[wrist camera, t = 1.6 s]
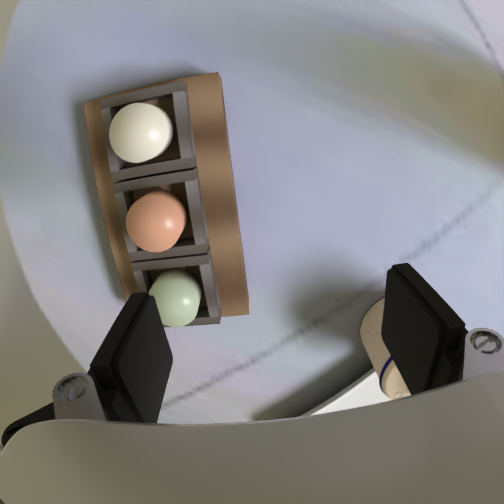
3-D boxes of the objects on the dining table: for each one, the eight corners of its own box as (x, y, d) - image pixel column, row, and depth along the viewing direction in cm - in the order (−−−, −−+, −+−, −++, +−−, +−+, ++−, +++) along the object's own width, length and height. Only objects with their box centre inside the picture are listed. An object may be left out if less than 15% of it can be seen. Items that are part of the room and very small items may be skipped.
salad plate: (391, 336, 36) (401, 353, 33) (444, 398, 42) (452, 412, 39) (266, 420, 42) (267, 438, 38) (344, 460, 48) (347, 475, 44)
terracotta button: (131, 194, 25) (120, 201, 22) (182, 185, 25) (175, 192, 22) (141, 244, 26) (133, 255, 24) (191, 238, 26) (185, 249, 24)
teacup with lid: (351, 354, 37) (378, 426, 26) (363, 291, 33) (405, 360, 23) (431, 345, 37) (470, 404, 26) (450, 286, 34) (503, 340, 23)
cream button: (117, 111, 22) (105, 110, 20) (169, 99, 22) (161, 96, 20) (125, 163, 24) (114, 167, 21) (176, 153, 24) (169, 157, 21)
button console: (97, 104, 26) (72, 102, 21) (220, 77, 25) (215, 67, 21) (141, 307, 34) (128, 333, 29) (248, 298, 34) (249, 326, 29)
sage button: (148, 271, 27) (140, 284, 25) (196, 266, 27) (192, 279, 25) (160, 313, 29) (154, 328, 27) (205, 310, 29) (202, 325, 27)
